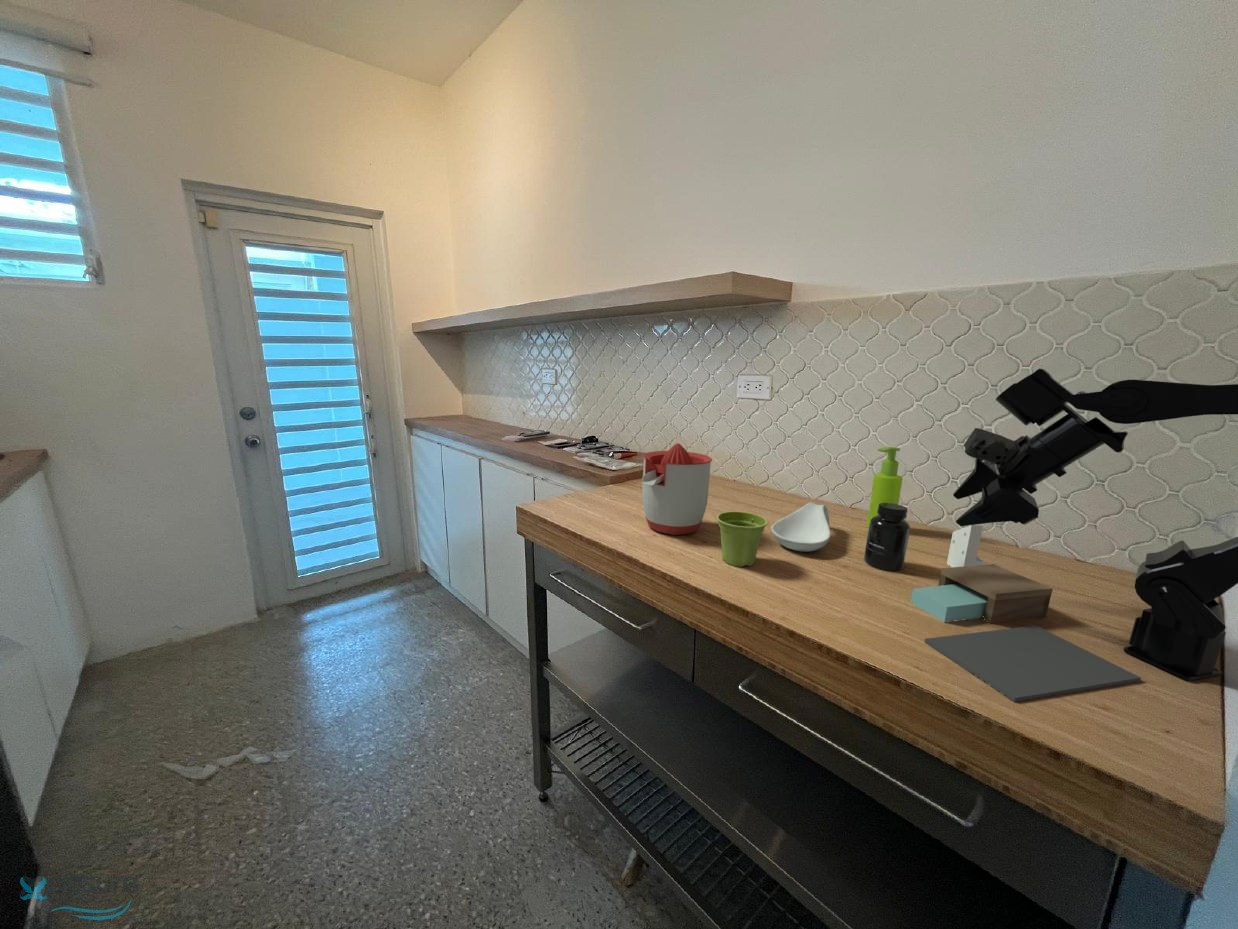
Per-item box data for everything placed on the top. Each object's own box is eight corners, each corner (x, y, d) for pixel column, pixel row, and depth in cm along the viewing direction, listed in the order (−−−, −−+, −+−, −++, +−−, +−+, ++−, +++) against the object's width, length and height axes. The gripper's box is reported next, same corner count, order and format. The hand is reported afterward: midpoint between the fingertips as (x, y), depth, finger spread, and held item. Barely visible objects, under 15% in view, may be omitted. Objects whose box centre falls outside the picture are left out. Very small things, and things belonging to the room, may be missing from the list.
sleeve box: (1045, 616, 72) (1052, 588, 71) (990, 623, 70) (996, 594, 69) (988, 589, 81) (993, 564, 80) (936, 594, 78) (941, 568, 77)
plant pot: (757, 575, 84) (761, 530, 82) (707, 563, 88) (710, 520, 86) (767, 558, 92) (772, 516, 90) (721, 548, 96) (724, 508, 94)
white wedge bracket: (977, 573, 82) (971, 525, 84) (948, 578, 91) (944, 534, 94) (1000, 575, 81) (994, 527, 84) (968, 580, 90) (964, 536, 93)
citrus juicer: (620, 526, 107) (623, 441, 103) (670, 513, 119) (674, 436, 115) (671, 546, 96) (676, 452, 92) (720, 529, 107) (727, 445, 103)
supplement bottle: (863, 566, 89) (872, 507, 86) (863, 555, 95) (871, 499, 92) (904, 575, 86) (915, 513, 83) (902, 562, 92) (911, 504, 89)
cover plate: (1013, 615, 73) (1017, 598, 72) (943, 625, 69) (947, 607, 69) (976, 597, 79) (980, 581, 78) (910, 605, 75) (913, 588, 75)
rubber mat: (1140, 681, 57) (1141, 677, 57) (1013, 702, 53) (1014, 698, 53) (1035, 628, 68) (1036, 625, 68) (924, 642, 64) (924, 638, 64)
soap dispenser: (858, 526, 113) (869, 445, 109) (877, 523, 116) (889, 444, 112) (880, 534, 108) (893, 450, 104) (899, 530, 111) (913, 448, 107)
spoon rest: (821, 563, 90) (825, 528, 89) (762, 549, 97) (765, 516, 96) (843, 531, 109) (847, 502, 108) (792, 521, 116) (796, 493, 115)
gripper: (998, 395, 76) (917, 456, 86) (1015, 436, 61) (916, 504, 71) (1057, 439, 74) (968, 496, 84) (1089, 492, 60) (977, 553, 70)
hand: (956, 509), depth 77 cm, fingers open, 9 cm apart
